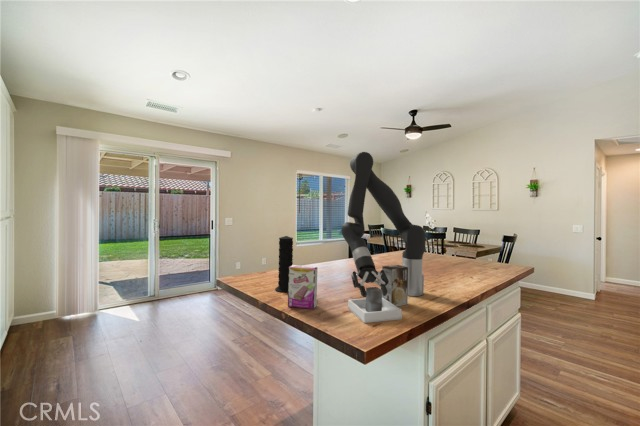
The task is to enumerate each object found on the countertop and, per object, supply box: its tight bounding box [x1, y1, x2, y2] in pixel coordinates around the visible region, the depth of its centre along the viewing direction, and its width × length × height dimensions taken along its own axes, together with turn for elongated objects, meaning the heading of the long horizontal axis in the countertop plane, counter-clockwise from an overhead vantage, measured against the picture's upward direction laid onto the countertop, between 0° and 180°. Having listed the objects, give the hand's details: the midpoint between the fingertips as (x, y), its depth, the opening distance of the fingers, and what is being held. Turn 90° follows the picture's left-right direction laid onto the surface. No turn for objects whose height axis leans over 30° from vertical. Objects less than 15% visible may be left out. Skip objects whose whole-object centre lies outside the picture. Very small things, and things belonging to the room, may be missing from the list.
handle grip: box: [274, 235, 294, 294], centre depth 137 cm, size 10×26×10 cm
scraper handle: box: [365, 286, 382, 312], centre depth 108 cm, size 4×4×9 cm
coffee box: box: [381, 264, 409, 307], centre depth 119 cm, size 9×6×16 cm
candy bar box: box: [287, 264, 318, 310], centre depth 114 cm, size 11×5×16 cm, turn 78°
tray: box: [347, 297, 403, 324], centre depth 108 cm, size 15×15×4 cm
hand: (375, 295), depth 106 cm, fingers open, 8 cm apart
